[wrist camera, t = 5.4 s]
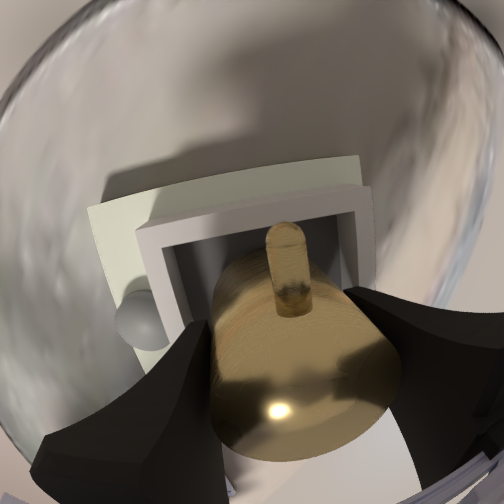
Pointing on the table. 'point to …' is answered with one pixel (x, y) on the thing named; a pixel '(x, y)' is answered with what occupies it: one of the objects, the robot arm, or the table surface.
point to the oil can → (293, 356)
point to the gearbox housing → (225, 240)
